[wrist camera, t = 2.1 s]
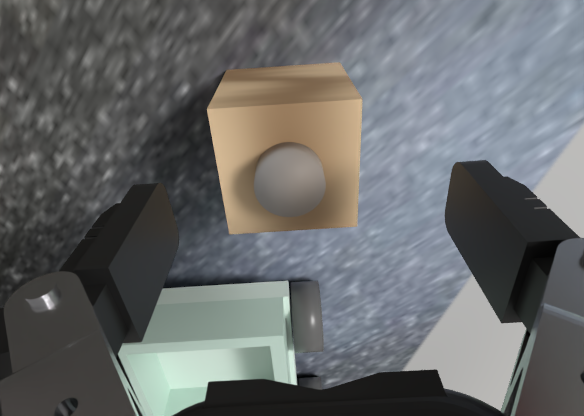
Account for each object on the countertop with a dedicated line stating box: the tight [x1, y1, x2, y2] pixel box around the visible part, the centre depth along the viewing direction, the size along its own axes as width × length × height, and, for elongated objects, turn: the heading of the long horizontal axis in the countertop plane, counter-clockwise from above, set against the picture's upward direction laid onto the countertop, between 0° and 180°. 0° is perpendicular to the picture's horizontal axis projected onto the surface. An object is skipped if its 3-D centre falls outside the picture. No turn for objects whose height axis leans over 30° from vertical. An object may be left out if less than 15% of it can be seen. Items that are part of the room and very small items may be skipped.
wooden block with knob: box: [207, 63, 362, 234], centre depth 16 cm, size 5×5×6 cm
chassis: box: [118, 281, 323, 416], centre depth 24 cm, size 12×15×6 cm
